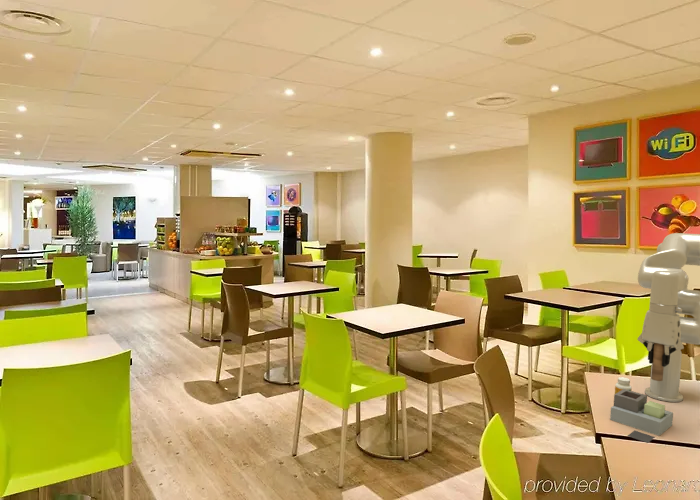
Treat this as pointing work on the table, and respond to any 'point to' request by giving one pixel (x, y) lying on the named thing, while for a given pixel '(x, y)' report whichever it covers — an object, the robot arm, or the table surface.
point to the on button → (654, 409)
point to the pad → (641, 436)
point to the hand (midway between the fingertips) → (658, 363)
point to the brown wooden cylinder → (657, 362)
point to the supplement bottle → (622, 384)
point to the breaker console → (638, 413)
